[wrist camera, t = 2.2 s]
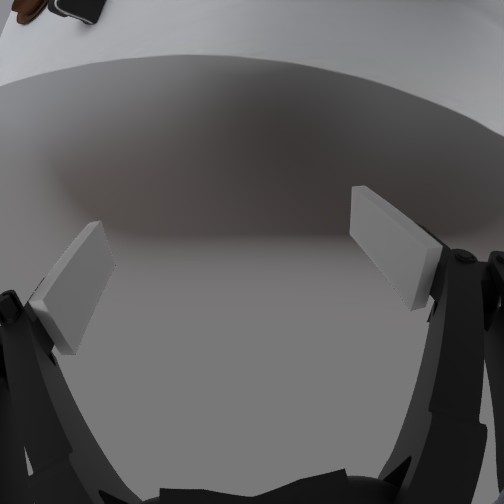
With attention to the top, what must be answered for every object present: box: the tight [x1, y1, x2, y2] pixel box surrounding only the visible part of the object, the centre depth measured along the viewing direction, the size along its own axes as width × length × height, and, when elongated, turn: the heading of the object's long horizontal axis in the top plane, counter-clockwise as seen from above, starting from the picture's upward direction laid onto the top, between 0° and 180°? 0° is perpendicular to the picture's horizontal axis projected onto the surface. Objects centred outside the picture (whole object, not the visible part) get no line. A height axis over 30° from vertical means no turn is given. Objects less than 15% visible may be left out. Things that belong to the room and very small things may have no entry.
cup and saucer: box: [12, 0, 47, 24], centre depth 28 cm, size 12×12×6 cm
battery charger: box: [48, 0, 104, 24], centre depth 26 cm, size 7×4×11 cm, turn 169°
